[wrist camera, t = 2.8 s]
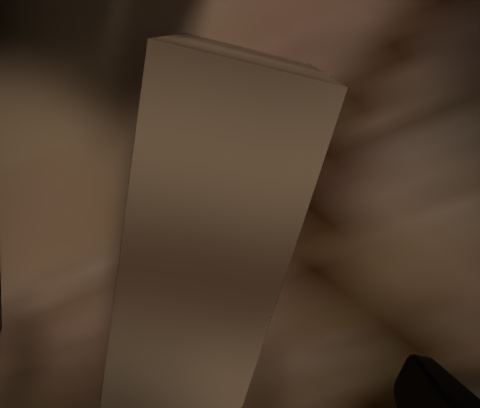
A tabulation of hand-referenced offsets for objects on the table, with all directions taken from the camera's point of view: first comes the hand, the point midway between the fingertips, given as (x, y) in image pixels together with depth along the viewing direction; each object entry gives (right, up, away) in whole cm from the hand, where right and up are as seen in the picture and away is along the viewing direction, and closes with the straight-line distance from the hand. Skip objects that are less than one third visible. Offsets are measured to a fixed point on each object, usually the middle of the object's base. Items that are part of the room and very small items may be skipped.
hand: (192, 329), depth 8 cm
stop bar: (0, +3, +6) cm, 6 cm away
